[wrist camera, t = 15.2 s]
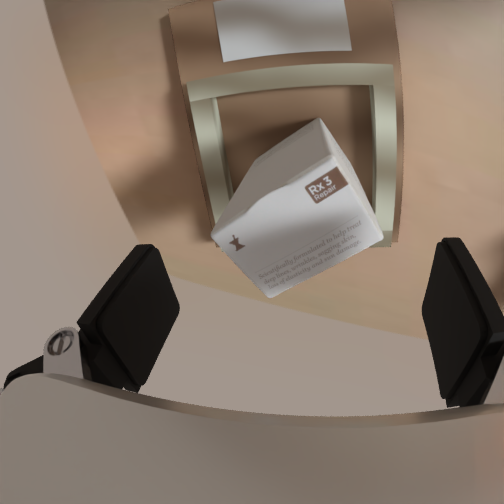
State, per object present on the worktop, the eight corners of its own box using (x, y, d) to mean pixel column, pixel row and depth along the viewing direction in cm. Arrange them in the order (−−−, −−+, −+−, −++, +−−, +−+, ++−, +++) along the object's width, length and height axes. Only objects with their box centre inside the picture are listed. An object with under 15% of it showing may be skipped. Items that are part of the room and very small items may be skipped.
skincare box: (287, 200, 24) (268, 309, 14) (252, 156, 22) (201, 239, 12) (353, 159, 21) (390, 248, 11) (319, 110, 20) (332, 153, 10)
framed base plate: (176, 11, 18) (159, 6, 15) (383, -11, 14) (393, -20, 12) (220, 238, 29) (211, 256, 26) (393, 233, 25) (401, 251, 23)
